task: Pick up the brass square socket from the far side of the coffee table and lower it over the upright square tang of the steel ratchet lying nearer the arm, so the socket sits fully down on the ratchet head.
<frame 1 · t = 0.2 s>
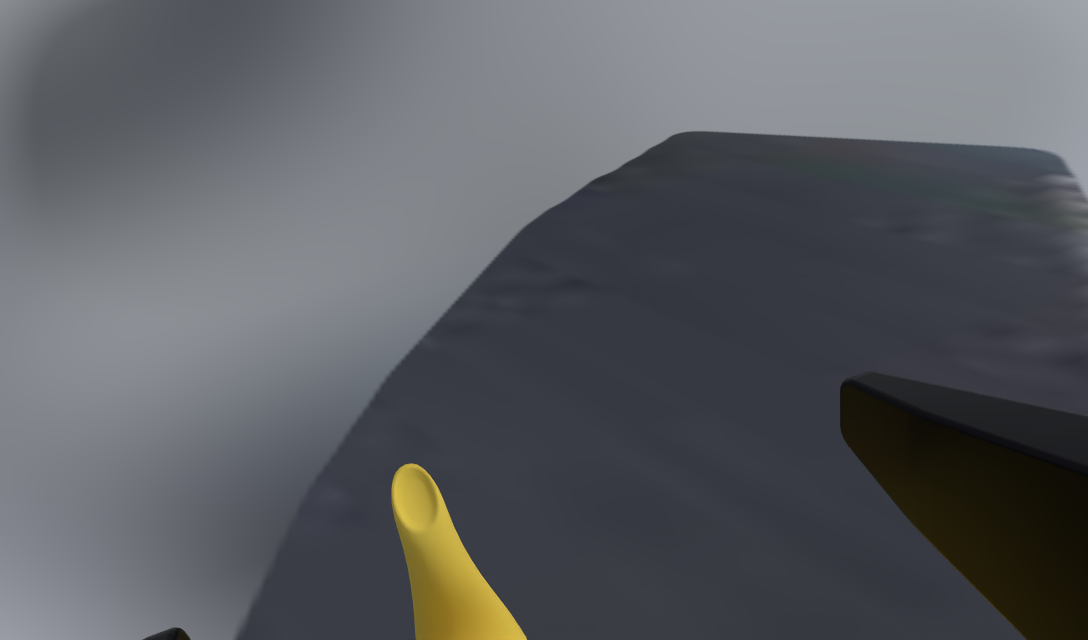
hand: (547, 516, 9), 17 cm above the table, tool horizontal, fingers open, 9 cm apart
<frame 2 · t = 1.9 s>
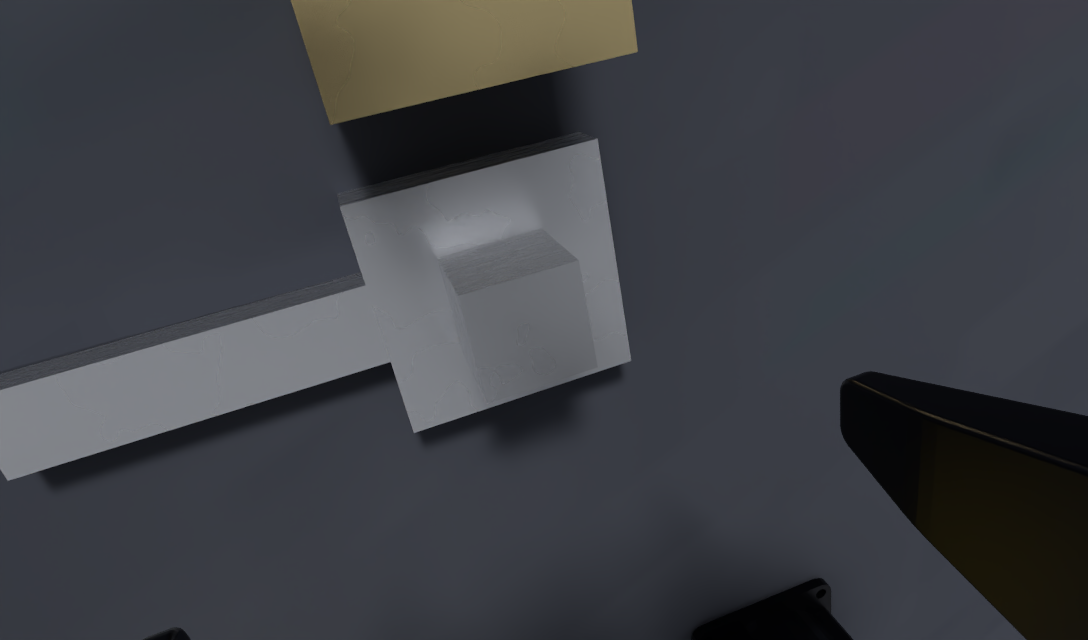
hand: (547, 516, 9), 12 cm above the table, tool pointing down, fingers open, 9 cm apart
ratchet: (489, 275, 21), on the table
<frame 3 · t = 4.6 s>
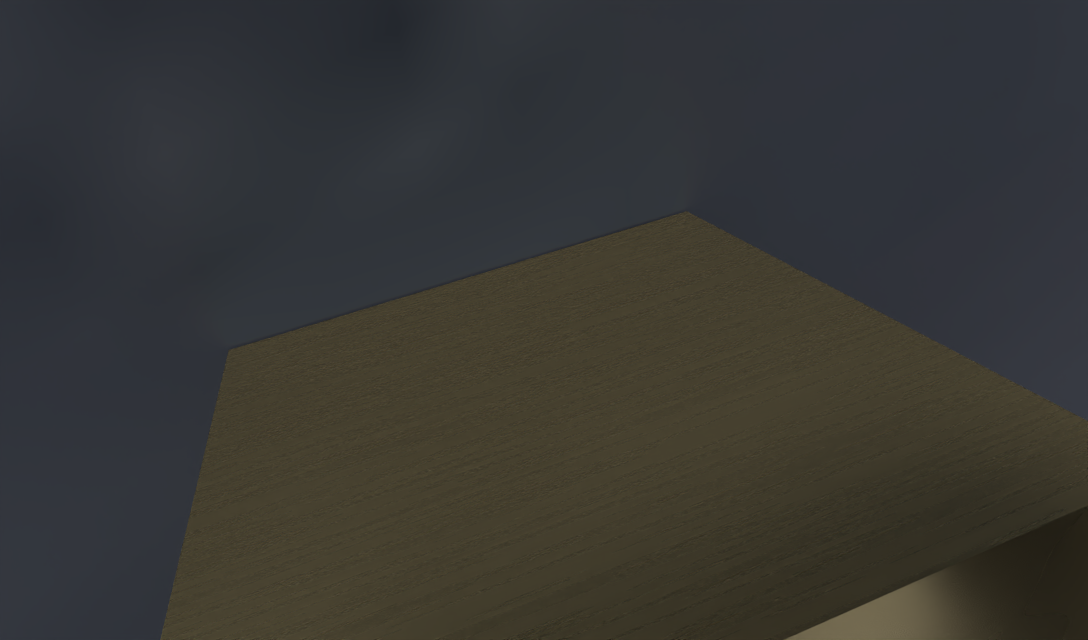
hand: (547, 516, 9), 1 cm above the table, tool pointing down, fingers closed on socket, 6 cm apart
socket: (521, 462, 10), on the table, touching gripper
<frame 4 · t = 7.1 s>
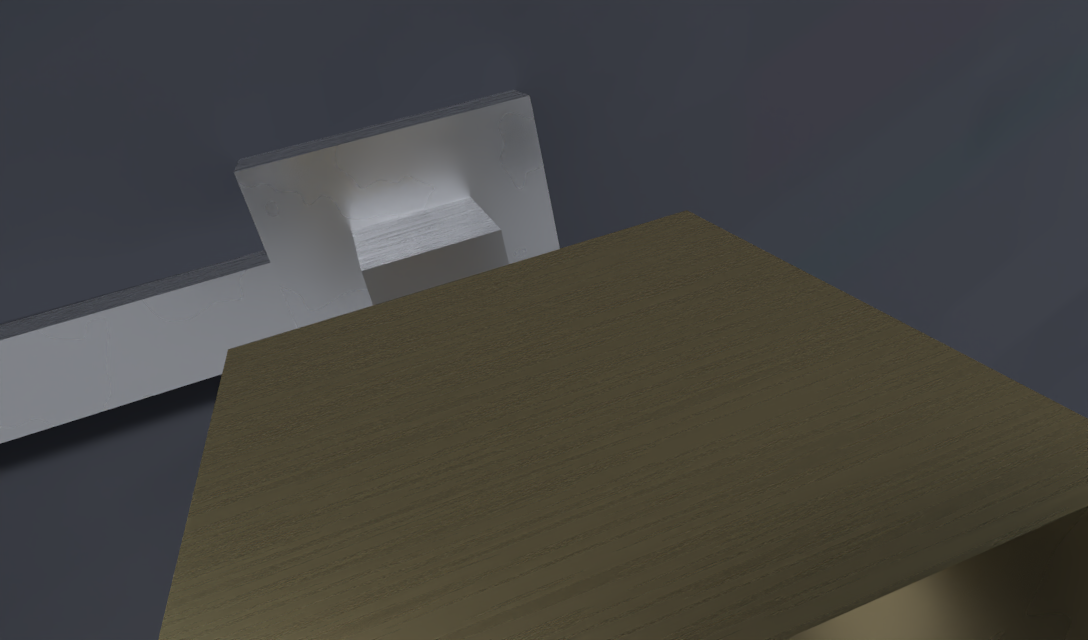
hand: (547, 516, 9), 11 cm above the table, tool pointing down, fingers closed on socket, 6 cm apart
ratchet: (419, 251, 19), on the table
socket: (521, 462, 10), point 10 cm above the table, touching gripper
when the fingers open (3 cm above the table, at t = 10.1 s): socket stays where it is, resting on ratchet.
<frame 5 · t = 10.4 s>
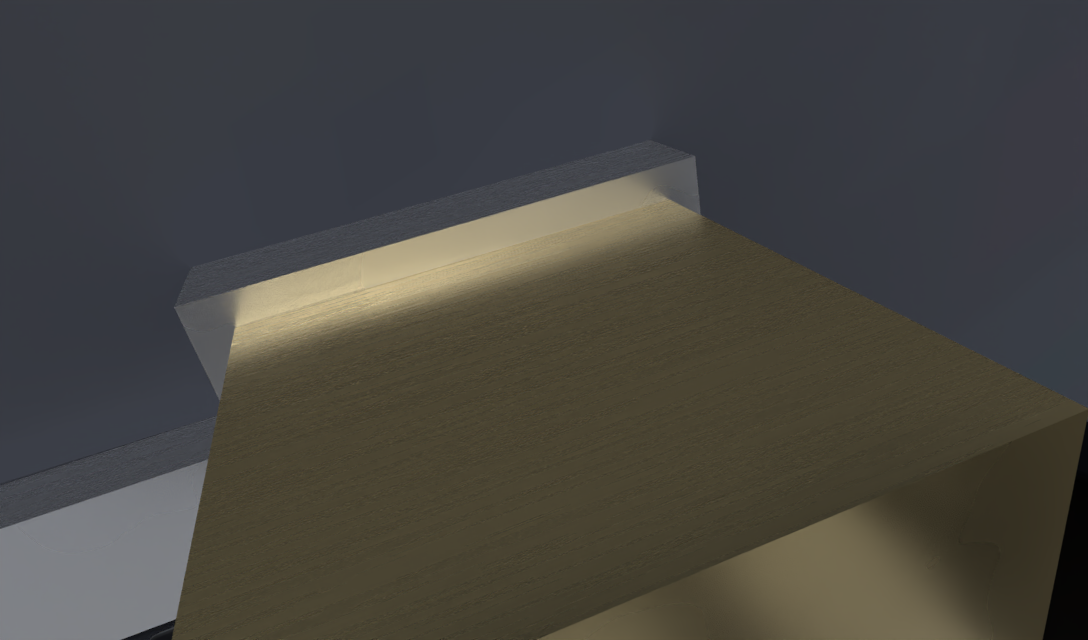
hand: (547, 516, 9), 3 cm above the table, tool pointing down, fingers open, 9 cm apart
ratchet: (488, 394, 12), on the table, touching socket
socket: (512, 439, 11), point 1 cm above the table, touching ratchet
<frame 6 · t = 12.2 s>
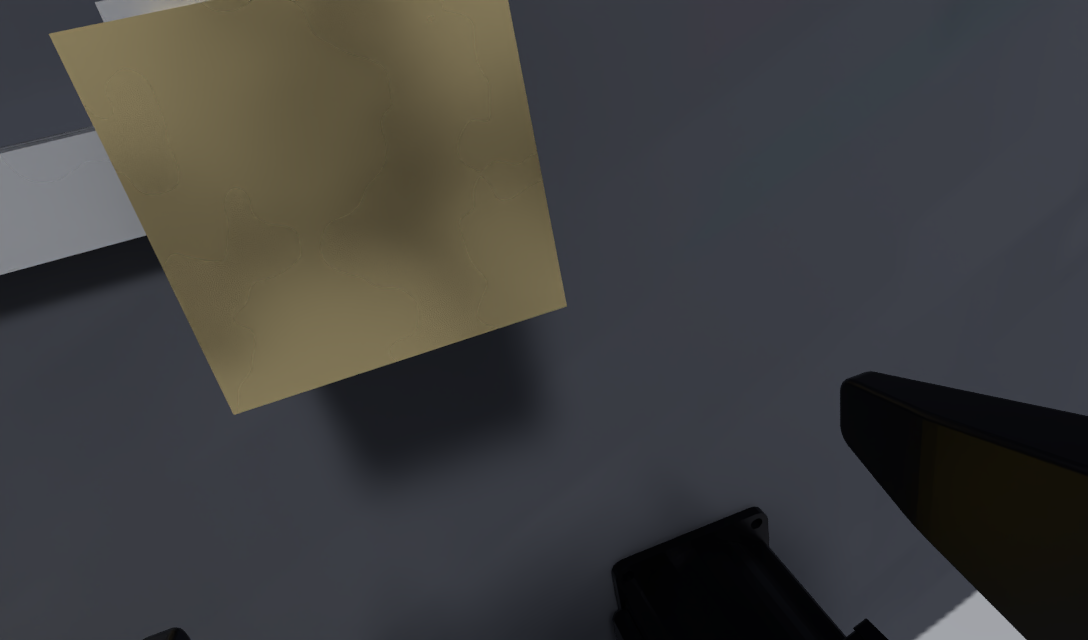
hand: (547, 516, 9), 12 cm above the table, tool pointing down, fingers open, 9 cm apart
ratchet: (327, 123, 17), on the table, touching socket
socket: (333, 132, 16), point 1 cm above the table, touching ratchet
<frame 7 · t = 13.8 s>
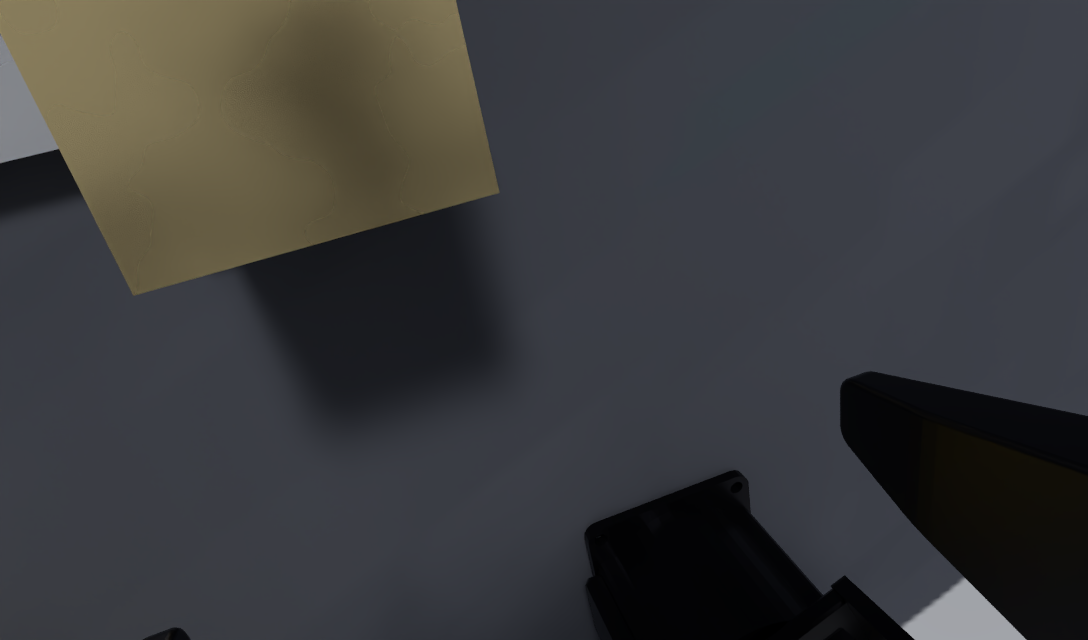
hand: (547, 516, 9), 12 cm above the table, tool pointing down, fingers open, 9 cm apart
ratchet: (269, 38, 17), on the table
socket: (272, 38, 15), point 1 cm above the table
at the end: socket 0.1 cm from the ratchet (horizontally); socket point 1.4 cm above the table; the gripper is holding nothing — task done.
